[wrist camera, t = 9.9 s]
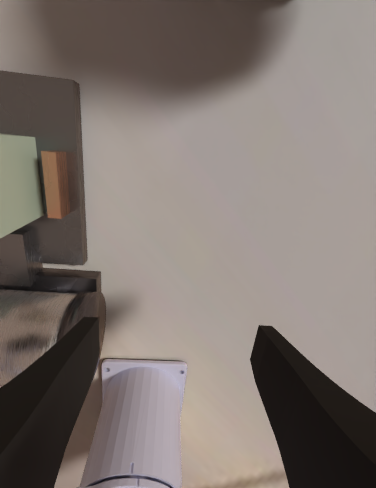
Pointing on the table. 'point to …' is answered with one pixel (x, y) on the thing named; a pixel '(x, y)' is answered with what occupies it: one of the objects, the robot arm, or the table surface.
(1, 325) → the motor mount
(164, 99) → the table surface
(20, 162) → the sage green cube
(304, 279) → the table surface
